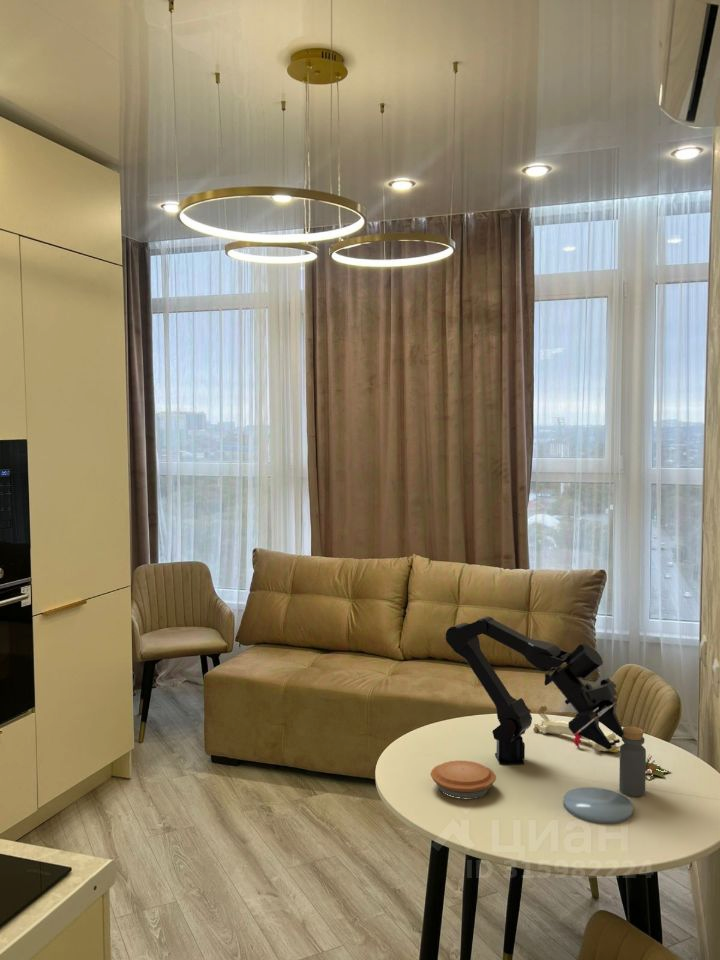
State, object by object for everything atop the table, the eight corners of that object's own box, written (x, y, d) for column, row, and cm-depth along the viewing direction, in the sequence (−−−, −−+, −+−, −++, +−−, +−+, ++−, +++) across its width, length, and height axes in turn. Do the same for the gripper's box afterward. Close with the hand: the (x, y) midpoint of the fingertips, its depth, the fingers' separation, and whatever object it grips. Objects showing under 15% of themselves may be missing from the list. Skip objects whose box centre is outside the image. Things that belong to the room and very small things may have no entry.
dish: (574, 824, 173) (575, 817, 173) (555, 793, 188) (555, 787, 188) (642, 822, 173) (643, 816, 173) (618, 792, 188) (618, 786, 188)
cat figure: (529, 739, 227) (609, 757, 208) (527, 708, 227) (607, 723, 208) (549, 730, 233) (628, 747, 215) (547, 701, 234) (626, 714, 215)
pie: (450, 770, 201) (450, 751, 201) (506, 786, 192) (506, 765, 192) (418, 792, 189) (418, 771, 189) (477, 810, 180) (477, 788, 180)
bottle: (645, 788, 191) (646, 727, 190) (645, 798, 185) (646, 735, 185) (619, 785, 193) (620, 724, 192) (619, 795, 187) (619, 732, 187)
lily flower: (681, 775, 199) (681, 757, 199) (650, 786, 193) (650, 768, 193) (640, 759, 209) (641, 742, 209) (610, 769, 203) (610, 752, 203)
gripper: (581, 679, 186) (628, 735, 180) (609, 661, 201) (653, 713, 195) (549, 705, 191) (594, 761, 185) (579, 686, 206) (621, 738, 200)
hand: (617, 742), depth 191 cm, fingers open, 9 cm apart
